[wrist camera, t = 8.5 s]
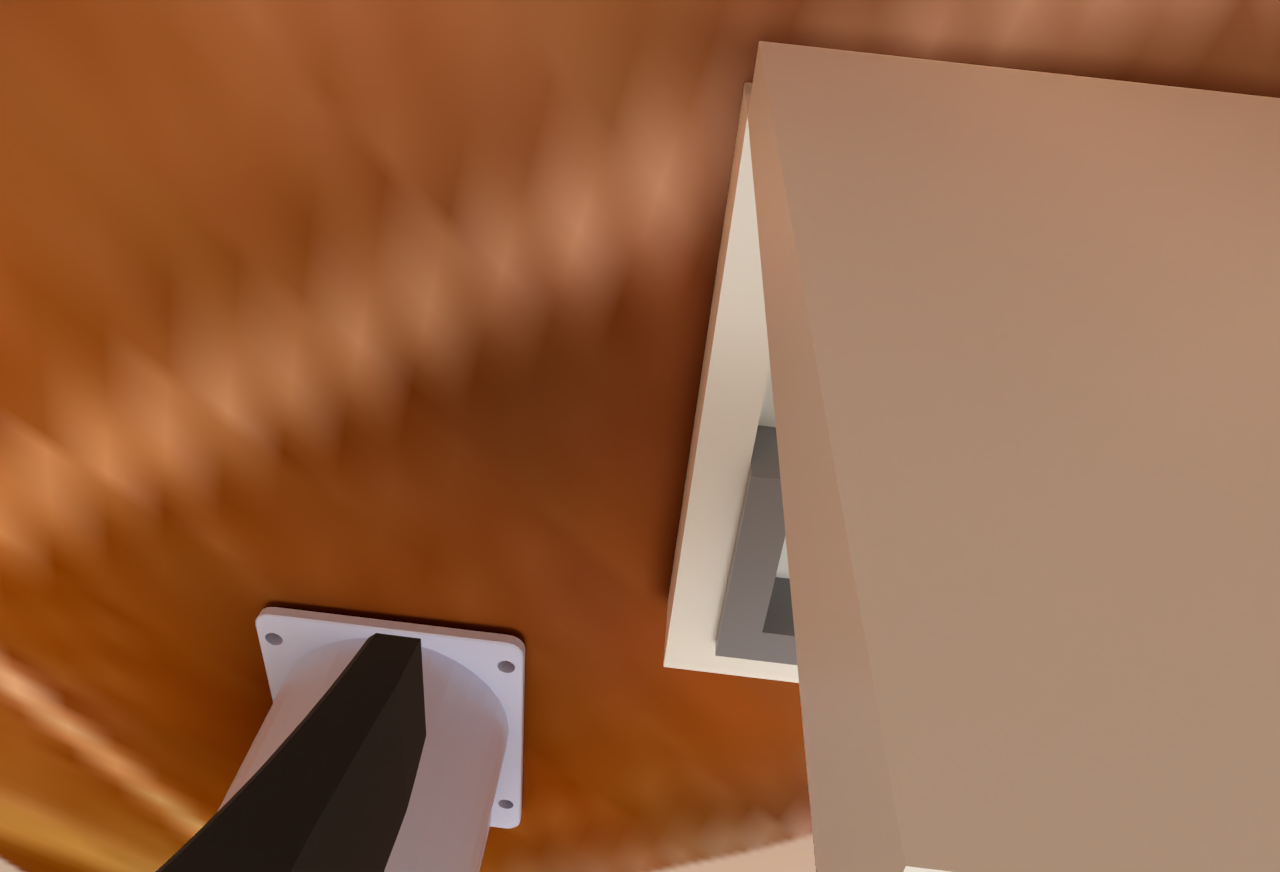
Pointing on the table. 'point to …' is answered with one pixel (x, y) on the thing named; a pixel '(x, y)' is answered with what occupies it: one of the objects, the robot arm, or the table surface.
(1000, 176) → the equipment case
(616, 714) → the table surface
